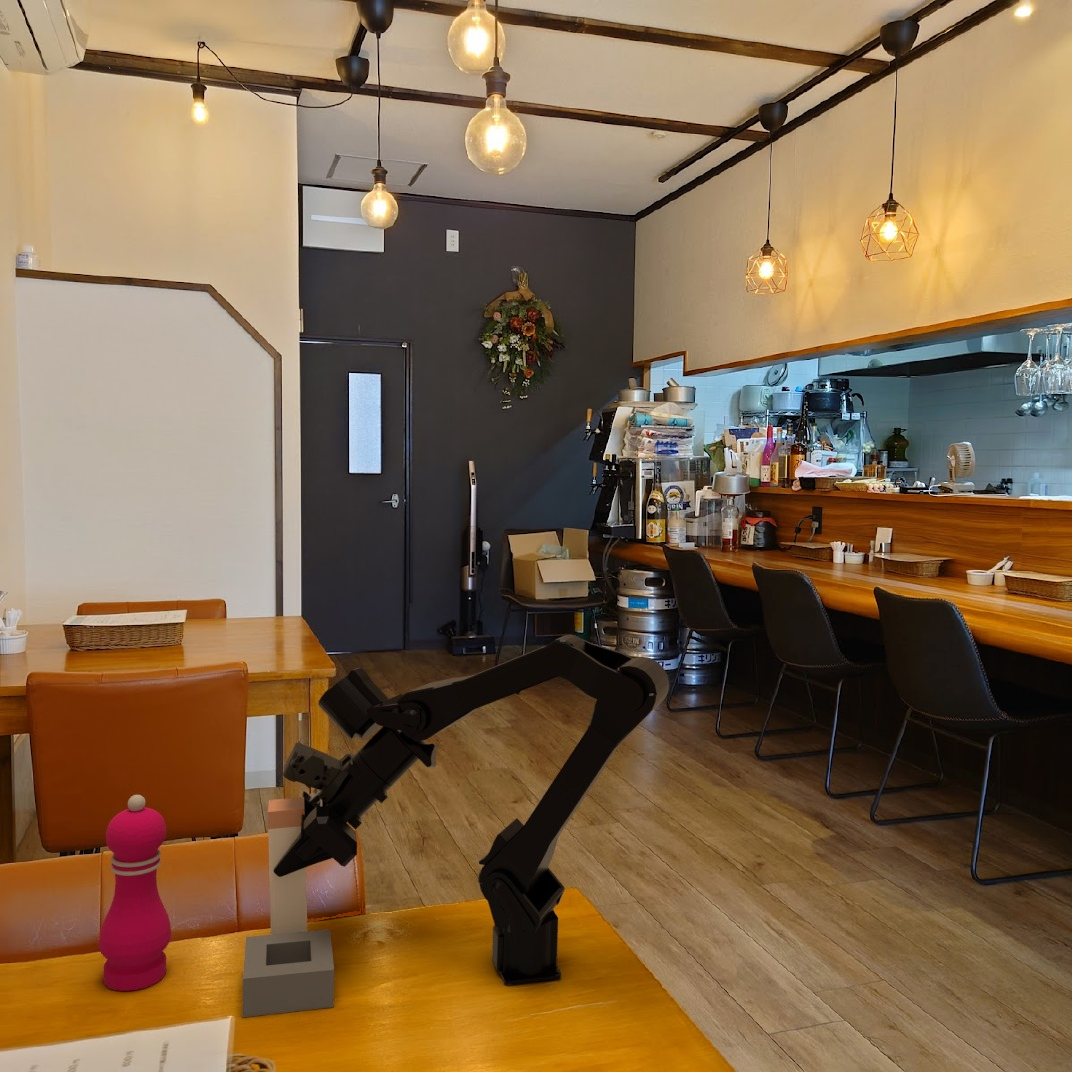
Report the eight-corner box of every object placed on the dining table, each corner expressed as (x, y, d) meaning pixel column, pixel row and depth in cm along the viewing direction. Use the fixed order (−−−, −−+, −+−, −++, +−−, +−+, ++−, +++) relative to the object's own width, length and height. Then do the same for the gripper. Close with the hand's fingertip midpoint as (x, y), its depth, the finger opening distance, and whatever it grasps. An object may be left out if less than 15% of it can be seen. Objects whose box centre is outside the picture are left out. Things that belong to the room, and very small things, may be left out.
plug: (306, 920, 113) (304, 797, 112) (307, 936, 109) (304, 808, 108) (272, 924, 112) (268, 800, 111) (271, 940, 108) (267, 811, 107)
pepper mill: (145, 998, 99) (146, 809, 97) (83, 989, 100) (84, 802, 99) (184, 964, 106) (186, 787, 105) (126, 955, 107) (127, 781, 106)
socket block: (329, 963, 107) (329, 929, 107) (333, 1007, 98) (334, 969, 98) (245, 972, 104) (246, 936, 104) (242, 1017, 96) (242, 978, 96)
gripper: (325, 703, 119) (232, 793, 117) (327, 743, 101) (217, 852, 99) (388, 762, 121) (297, 852, 119) (400, 812, 103) (294, 920, 101)
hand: (277, 866), depth 110 cm, fingers closed on plug, 4 cm apart
